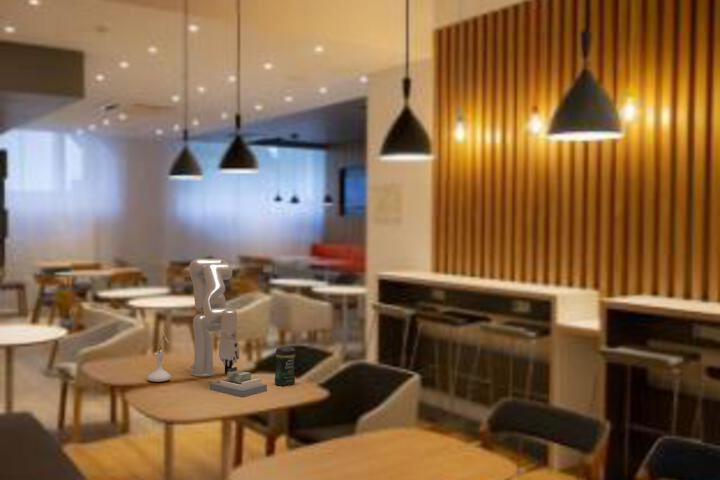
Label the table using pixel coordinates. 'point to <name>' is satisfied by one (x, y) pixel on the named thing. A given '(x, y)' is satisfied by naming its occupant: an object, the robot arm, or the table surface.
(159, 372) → the flower in vase
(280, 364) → the coffee jar
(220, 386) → the dock
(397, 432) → the table surface
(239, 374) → the cart
